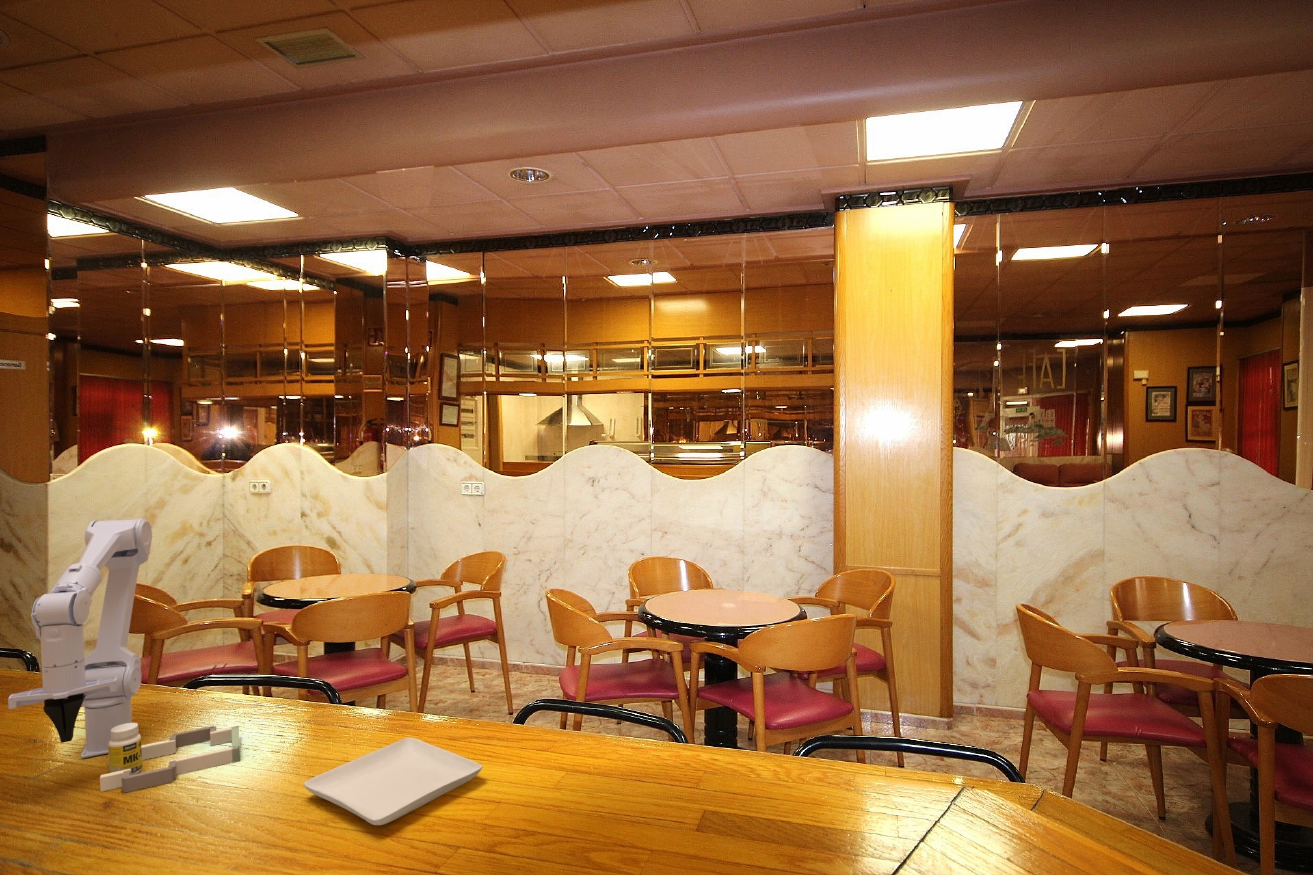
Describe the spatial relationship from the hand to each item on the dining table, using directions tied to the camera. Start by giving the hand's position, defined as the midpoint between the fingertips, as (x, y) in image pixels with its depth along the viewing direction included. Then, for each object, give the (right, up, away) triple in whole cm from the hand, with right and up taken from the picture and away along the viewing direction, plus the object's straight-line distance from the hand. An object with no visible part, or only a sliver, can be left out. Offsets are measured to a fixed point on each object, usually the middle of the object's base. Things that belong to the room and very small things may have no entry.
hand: (67, 739), depth 126 cm
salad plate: (+58, -8, -3) cm, 58 cm away
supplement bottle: (+7, -8, +4) cm, 12 cm away
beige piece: (+13, -8, +8) cm, 17 cm away
